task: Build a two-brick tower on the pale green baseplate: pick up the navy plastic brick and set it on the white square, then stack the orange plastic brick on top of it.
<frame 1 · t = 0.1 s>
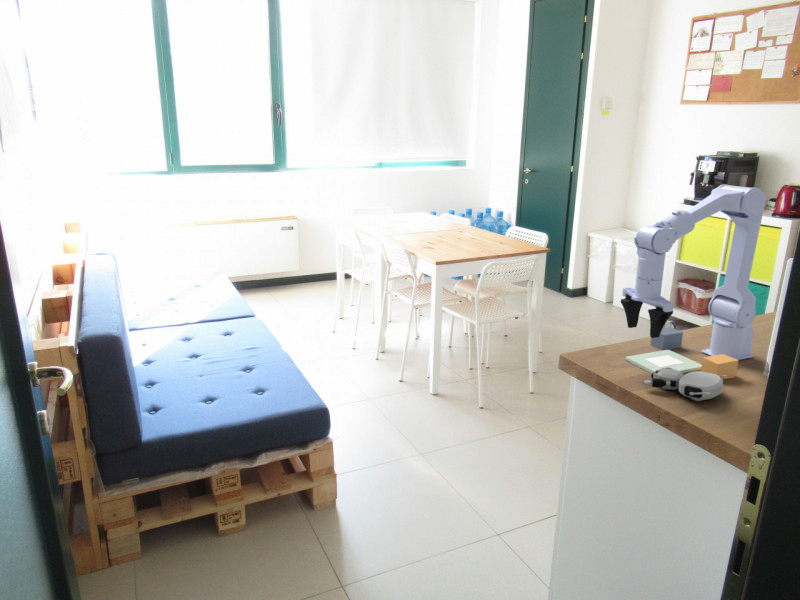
hand: (643, 332, 143), 10 cm above the table, tool pointing down, fingers open, 7 cm apart
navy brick: (665, 346, 162), on the table
orange brick: (717, 375, 143), on the table
robot toy: (683, 393, 135), on the table
baseplate: (664, 364, 150), on the table
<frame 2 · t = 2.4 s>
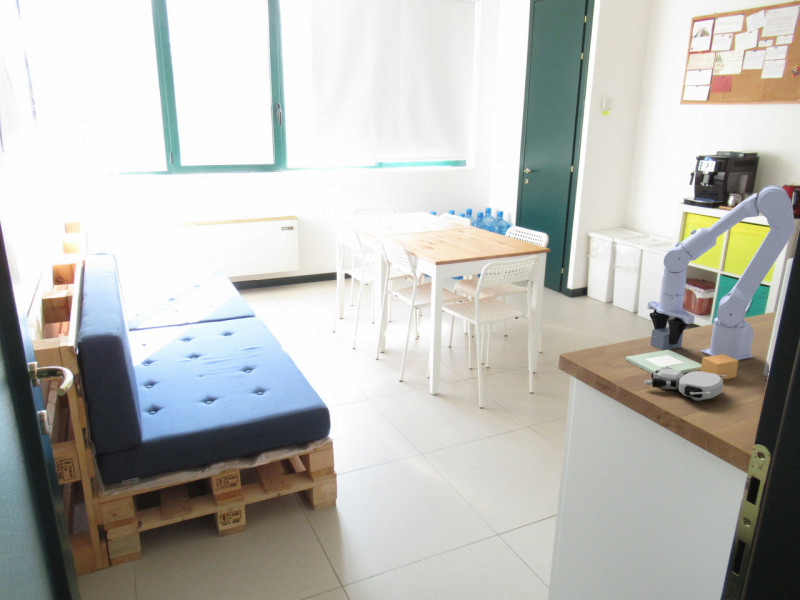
hand: (666, 341, 162), 1 cm above the table, tool pointing down, fingers closed on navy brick, 4 cm apart
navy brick: (665, 345, 162), on the table, touching gripper
everything else where it was.
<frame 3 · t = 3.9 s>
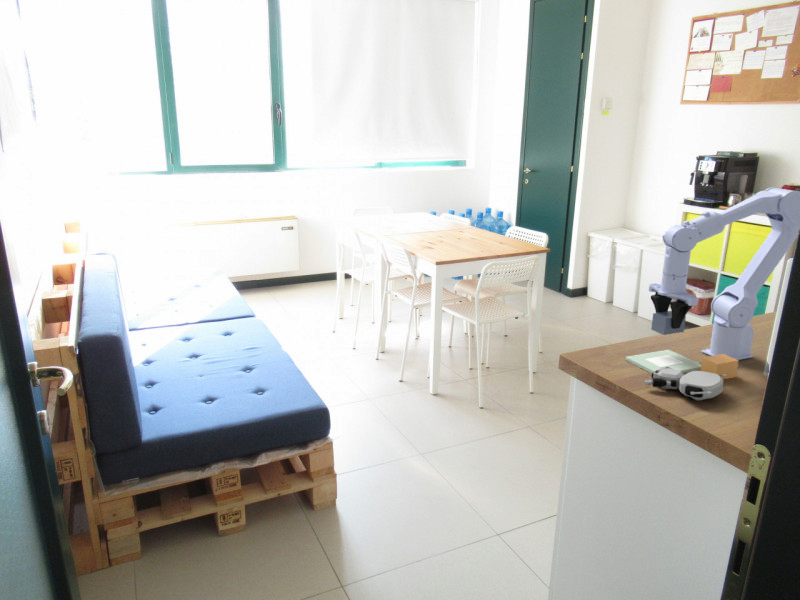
hand: (668, 325, 153), 8 cm above the table, tool pointing down, fingers closed on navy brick, 4 cm apart
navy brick: (667, 330, 154), point 7 cm above the table, touching gripper
everything else where it was.
when the fingers open (3 cm above the table, at t = 5.7 s): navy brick stays where it is, resting on baseplate.
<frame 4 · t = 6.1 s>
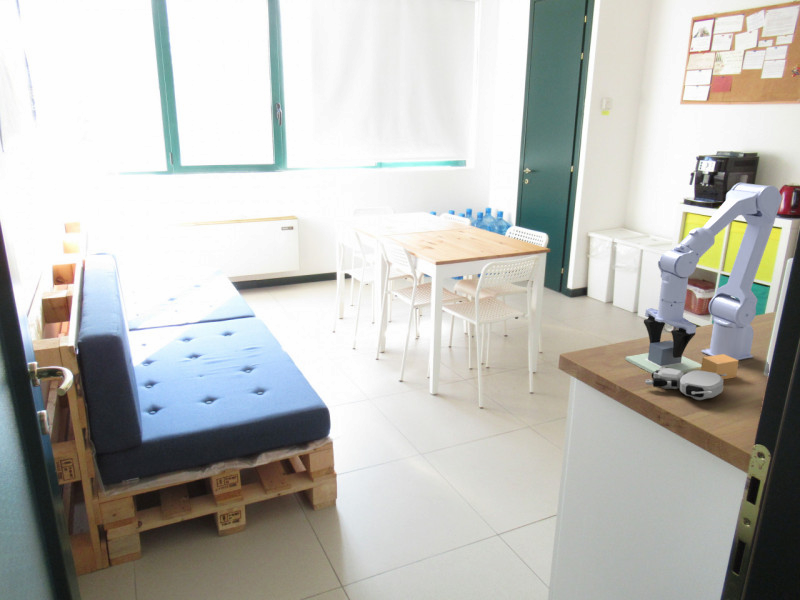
hand: (665, 351, 149), 3 cm above the table, tool pointing down, fingers open, 7 cm apart
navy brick: (664, 361, 150), point 1 cm above the table, touching baseplate
everything else where it was.
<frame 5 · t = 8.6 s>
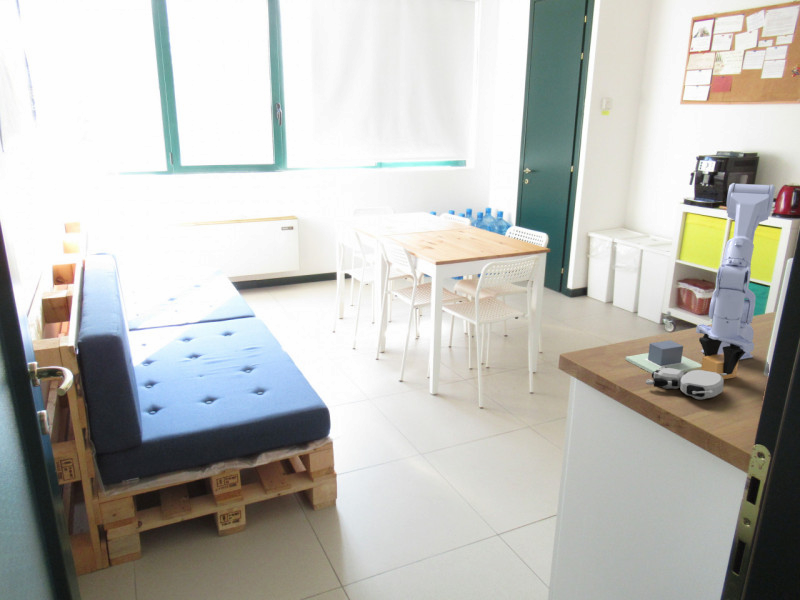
hand: (718, 369, 143), 1 cm above the table, tool pointing down, fingers closed on orange brick, 4 cm apart
orange brick: (717, 375, 143), on the table, touching gripper
everything else where it was.
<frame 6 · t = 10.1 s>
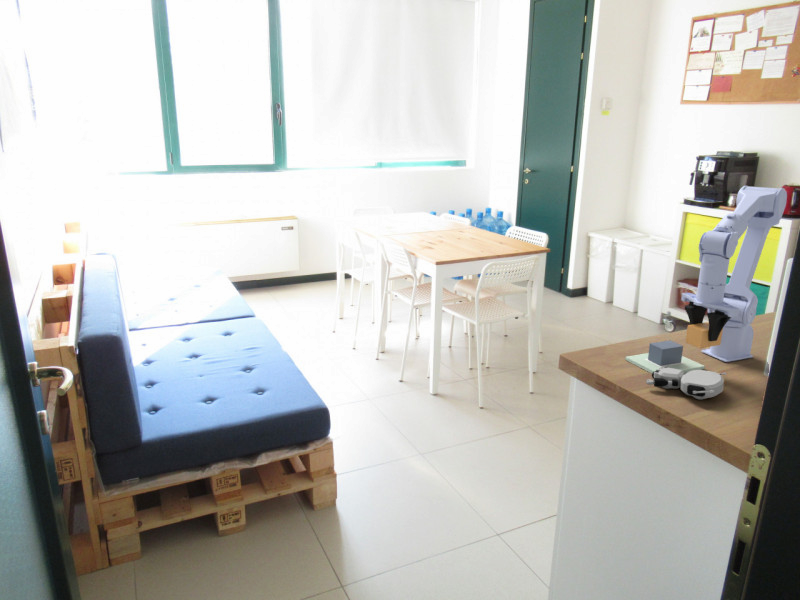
hand: (703, 337, 143), 9 cm above the table, tool pointing down, fingers closed on orange brick, 4 cm apart
orange brick: (702, 343, 143), point 7 cm above the table, touching gripper
everything else where it was.
when the fingers open (8 cm above the table, at t = 11.5 s): orange brick stays where it is, resting on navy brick.
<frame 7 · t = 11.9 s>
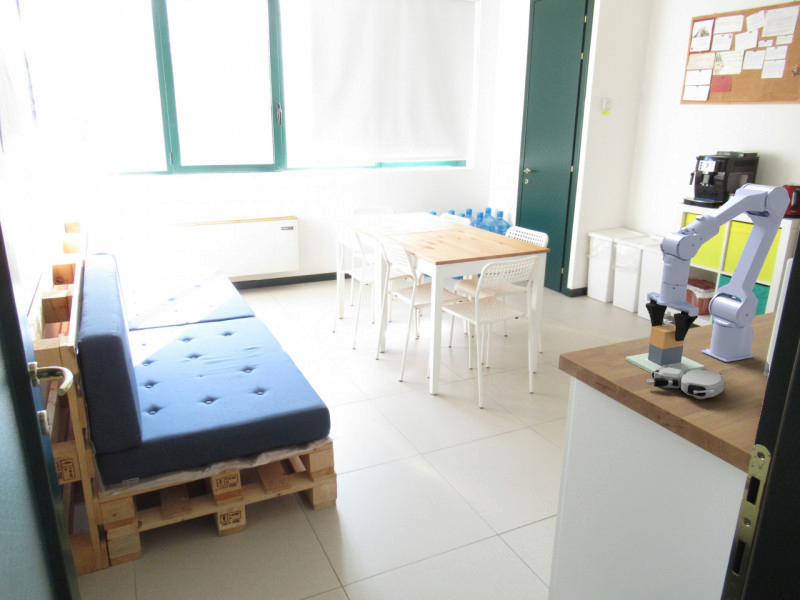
hand: (667, 335, 148), 8 cm above the table, tool pointing down, fingers open, 7 cm apart
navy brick: (664, 361, 150), point 1 cm above the table, touching baseplate, orange brick
orange brick: (666, 344, 148), point 5 cm above the table, touching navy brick
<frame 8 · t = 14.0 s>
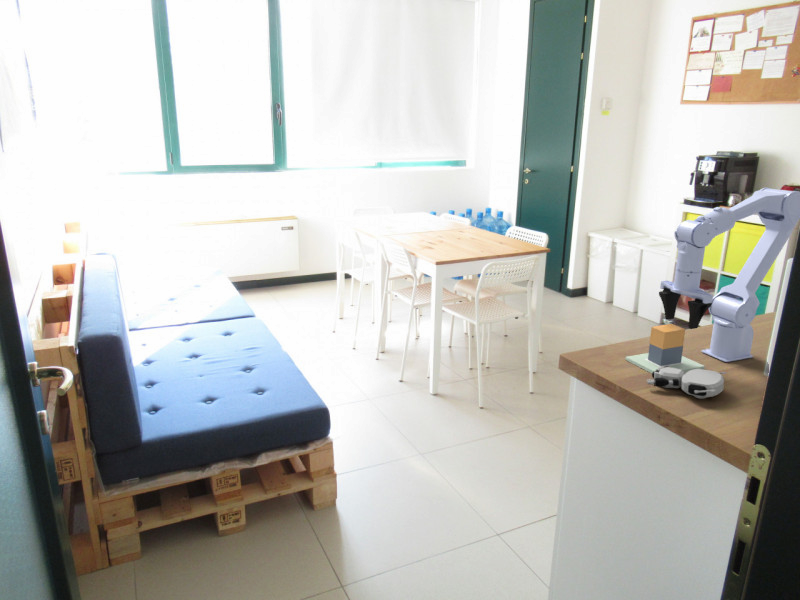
hand: (681, 323, 148), 10 cm above the table, tool pointing down, fingers open, 7 cm apart
at the end: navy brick 0.1 cm off-centre on the baseplate, point 0.9 cm above the baseplate's base; orange brick 0.0 cm off-centre on the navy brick, point 4.4 cm above the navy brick's base; orange brick tilted 0° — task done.
